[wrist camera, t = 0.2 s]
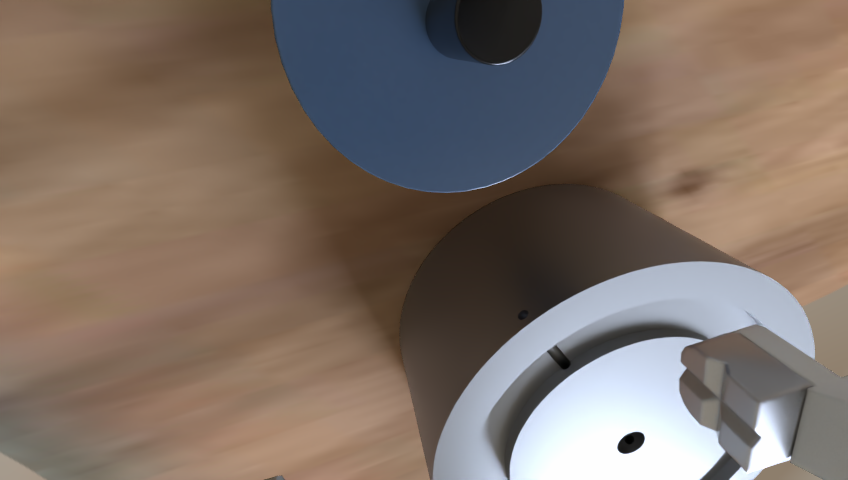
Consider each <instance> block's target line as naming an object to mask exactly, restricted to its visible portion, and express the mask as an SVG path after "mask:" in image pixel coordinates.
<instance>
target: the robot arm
mask: <svg viewBox="0 0 848 480" xmlns="http://www.w3.org/2000/svg"><path fill="white" fill-rule="evenodd" d="M680 362H681V363H682V364H683V365H684V366H685V367H686V370H685V371H684V373H683V374H682V376H681V377H680V378H679V392H680V394H681V397H682V400H683V402H684V405H685V406H686V408H687V409H688V411H689V412H690V414H691V415H692V416H693V417H694V418H695V419H696V420H697V422H698V423H699V424H700V425H702V426H704V427H707V428H709V429H712V430H714V431H716V432H717V437H718V444H719V445H720V446H721V447H722V448H723V449H724V450H725V451H726V452H727V453H728V454H729V455H730V456H731V457H732V458H733V459H734V460H735V461H736V462H737V463H738V464H739V465H740V466H741V467H742V468H743V469H744V470H745V471H746V472H747V473H749V472H753V471H756V470H759V469H762V468H765V467H768V466H772V465H775V464H778V463H782V462H785V461H788V460H791V461H790V463H792V464H794V465H796V466H798V467H800V468H802V469H804V470H806V471H808V472H809V473H811V474H814V475H815V476H817V477H819V478H821V479H823V480H848V376H844V377H840V376H838V375H837V374H835V373H834V372H832V371H831V370H829V369H828V368H826V367H825V366H823V365H821V364H820V363H818V362H817V361H815V360H814V359H812V358H811V357H809V356H808V355H806V354H805V353H803V352H802V351H800V350H799V349H797V348H796V347H794V346H793V345H791V344H790V343H788V342H787V341H785V340H784V339H782V338H781V337H779V336H778V335H776V334H775V333H773V332H772V331H770V330H768V329H767V328H765V327H763V326H760V325H756V324H754V325H751V326H748V327H745V328H742V329H739V330H736V331H732V332H730V333H725V334H722V335H719V336H716V337H713V338H710V339H707V340H704V341H701V342H698V343H695V344H692V345H689V346H686V347H685V348H684V349H683V351H682V352H681V361H680ZM265 480H284V478H283V476H276V477H272V478H269V479H265Z"/></svg>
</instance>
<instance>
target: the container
mask: <svg viewBox="0 0 848 480" xmlns="http://www.w3.org/2000/svg"><path fill="white" fill-rule="evenodd" d="M754 324H756V325H760V326H763V327H765V328H767V329H768V330H770V331H772V332H773V333H775V334H776V335H778V336H779V337H781V338H782V339H784V340H785V341H787V342H788V343H790V344H791V345H793V346H794V347H796V348H797V349H799V350H800V351H802V352H803V353H805V354H806V355H808V356H809V357H811V358H812V359H814V360H815V349H814V339H813V334H812V330H811V326H810V324H809V321H808V318H807V316H806V314H805V312H804V310H803V309H802V307H801V305H800V304H799V303H798V301H797V300H796V299H795V298H794V296H793V295H792V294H791V293H790V292H789V291H788V290H787V289H785V288H784V287H783V286H782V285H780V284H779V283H778V282H776V281H775V280H773V279H771V278H770V277H768V276H766V275H764V274H762V273H761V272H759V271H757V270H755V269H753V268H751V267H750V266H748V265H746V264H744V263H742V262H740V261H739V260H737V259H735V258H733V257H731V256H729V255H727V254H726V253H724V252H722V251H720V250H718V249H716V248H715V247H713V246H711V245H709V244H707V243H705V242H704V241H702V240H700V239H698V238H696V237H694V236H693V235H691V234H689V233H687V232H685V231H683V230H682V229H680V228H678V227H676V226H674V225H672V224H671V223H669V222H667V221H665V220H663V219H661V218H660V217H658V216H656V215H654V214H652V213H650V212H649V211H647V210H645V209H643V208H641V207H639V206H638V205H636V204H634V203H632V202H630V201H628V200H627V199H625V198H623V197H621V196H619V195H617V194H615V193H612V192H609V191H607V190H604V189H600V188H596V187H592V186H586V185H577V184H555V185H546V186H540V187H535V188H530V189H526V190H523V191H519V192H516V193H513V194H511V195H508V196H505V197H503V198H501V199H498V200H496V201H494V202H492V203H490V204H488V205H486V206H485V207H483V208H481V209H479V210H478V211H476V212H475V213H473V214H472V215H470V216H469V217H467V218H466V219H465V220H463V221H462V222H461V223H459V224H458V225H457V226H456V227H455V228H453V229H452V230H451V231H450V232H449V233H448V234H447V235H446V236H445V237H444V238H443V239H442V240H441V241H440V242H439V243H438V244H437V245H436V246H435V248H434V249H433V250H432V251H431V253H430V254H429V255H428V256H427V258H426V259H425V261H424V262H423V263H422V265H421V267H420V268H419V270H418V272H417V273H416V275H415V277H414V279H413V281H412V283H411V285H410V288H409V290H408V293H407V295H406V298H405V302H404V305H403V309H402V314H401V320H400V335H399V336H400V348H401V354H402V359H403V363H404V367H405V372H406V376H407V380H408V385H409V389H410V393H411V398H412V402H413V407H414V411H415V415H416V420H417V424H418V428H419V433H420V437H421V441H422V446H423V450H424V454H425V459H426V463H427V467H428V472H429V476H430V480H753V479H754V478H755V477H756V476H757V475H758V474H759V473H760V472H761V471H762V470H763V469H764V468H762V469H759V470H756V471H753V472H749V473H747V472H746V471H745V470H744V469H743V468H742V467H741V466H740V465H739V464H738V463H737V462H736V461H735V460H734V459H733V458H732V457H731V456H730V455H729V454H728V453H727V452H726V451H725V450H724V449H723V448H722V447H721V446H720V445H719V444H718V437H717V432H716V431H714V430H712V429H709V428H707V427H704V426H702V425H700V424H699V423H698V422H697V420H696V419H695V418H694V417H693V416H692V415H691V414H690V412H689V411H688V409H687V408H686V406H685V405H684V402H683V400H682V397H681V394H680V392H679V378H680V377H681V376H682V374H683V373H684V371H685V370H686V367H685V366H684V365H683V364H682V363H681V362H680V361H681V352H682V351H683V349H684V348H685V347H686V346H689V345H692V344H695V343H698V342H701V341H704V340H707V339H710V338H713V337H716V336H719V335H722V334H725V333H730V332H732V331H736V330H739V329H742V328H745V327H748V326H751V325H754Z"/></svg>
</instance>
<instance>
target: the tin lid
mask: <svg viewBox="0 0 848 480" xmlns="http://www.w3.org/2000/svg"><path fill="white" fill-rule="evenodd" d="M623 8H624V0H271V13H272V20H273V27H274V34H275V39H276V43H277V47H278V51H279V55H280V58H281V62H282V65H283V68H284V70H285V73H286V75H287V78H288V80H289V83H290V85H291V88H292V90H293V91H294V93H295V95H296V97H297V99H298V101H299V102H300V104H301V106H302V108H303V110H304V111H305V113H306V114H307V115H308V117H309V118H310V120H311V121H312V122H313V124H314V125H315V127H316V128H317V129H318V131H319V132H320V133H321V134H322V135H323V136H324V137H325V138H326V139H327V140H328V141H329V142H330V144H331V145H332V146H333V147H334V148H336V149H337V150H338V151H339V152H340V153H341V154H343V155H344V156H345V157H346V158H347V159H349V160H350V161H351V162H353V163H354V164H356V165H357V166H359V167H360V168H362V169H363V170H365V171H367V172H368V173H370V174H372V175H374V176H376V177H378V178H380V179H383V180H385V181H387V182H389V183H393V184H396V185H399V186H402V187H405V188H409V189H414V190H420V191H425V192H440V193H451V192H464V191H470V190H475V189H480V188H485V187H488V186H491V185H494V184H497V183H499V182H502V181H505V180H507V179H509V178H511V177H513V176H515V175H517V174H520V173H522V172H523V171H525V170H526V169H528V168H530V167H531V166H533V165H534V164H536V163H537V162H539V161H540V160H541V159H543V158H544V157H545V156H546V155H548V154H549V153H550V152H551V151H553V150H554V149H555V148H556V147H557V146H558V145H559V144H560V143H561V142H562V141H563V140H564V139H565V138H566V137H567V136H568V135H569V134H570V133H571V131H572V130H573V129H574V128H575V126H576V125H577V124H578V123H579V121H580V120H581V119H582V118H583V116H584V115H585V113H586V112H587V110H588V108H589V107H590V105H591V104H592V102H593V101H594V99H595V97H596V95H597V93H598V91H599V89H600V87H601V85H602V83H603V81H604V79H605V77H606V75H607V72H608V69H609V67H610V64H611V61H612V59H613V56H614V52H615V48H616V45H617V41H618V37H619V33H620V28H621V21H622V14H623Z"/></svg>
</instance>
